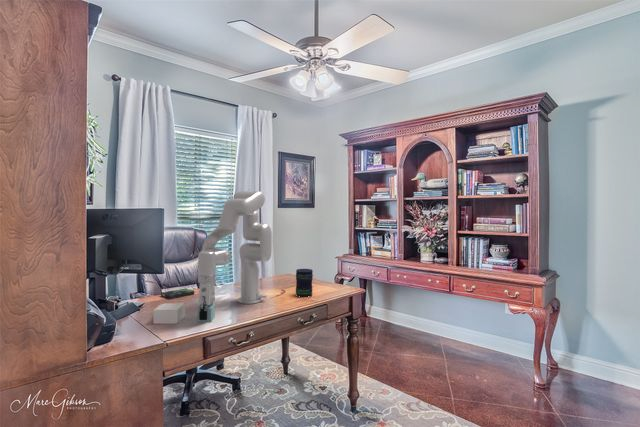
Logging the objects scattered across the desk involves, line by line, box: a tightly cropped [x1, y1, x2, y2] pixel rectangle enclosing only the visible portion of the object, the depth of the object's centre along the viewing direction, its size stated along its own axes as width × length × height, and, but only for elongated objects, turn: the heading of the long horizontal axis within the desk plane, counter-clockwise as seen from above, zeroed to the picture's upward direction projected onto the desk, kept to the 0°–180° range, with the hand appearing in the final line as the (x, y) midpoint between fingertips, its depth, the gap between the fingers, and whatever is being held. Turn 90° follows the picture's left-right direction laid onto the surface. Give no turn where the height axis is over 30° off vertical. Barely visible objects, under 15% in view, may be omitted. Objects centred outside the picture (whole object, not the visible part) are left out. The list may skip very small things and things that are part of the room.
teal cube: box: [196, 304, 216, 323], centre depth 151 cm, size 6×6×6 cm
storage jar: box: [295, 268, 314, 298], centre depth 197 cm, size 10×10×15 cm
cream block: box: [152, 302, 186, 325], centre depth 150 cm, size 10×10×6 cm
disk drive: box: [160, 288, 195, 300], centre depth 192 cm, size 10×3×15 cm
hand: (206, 316), depth 151 cm, fingers open, 9 cm apart
